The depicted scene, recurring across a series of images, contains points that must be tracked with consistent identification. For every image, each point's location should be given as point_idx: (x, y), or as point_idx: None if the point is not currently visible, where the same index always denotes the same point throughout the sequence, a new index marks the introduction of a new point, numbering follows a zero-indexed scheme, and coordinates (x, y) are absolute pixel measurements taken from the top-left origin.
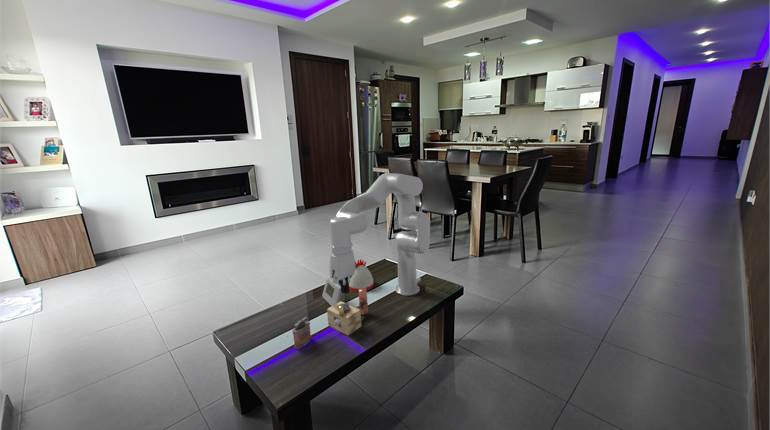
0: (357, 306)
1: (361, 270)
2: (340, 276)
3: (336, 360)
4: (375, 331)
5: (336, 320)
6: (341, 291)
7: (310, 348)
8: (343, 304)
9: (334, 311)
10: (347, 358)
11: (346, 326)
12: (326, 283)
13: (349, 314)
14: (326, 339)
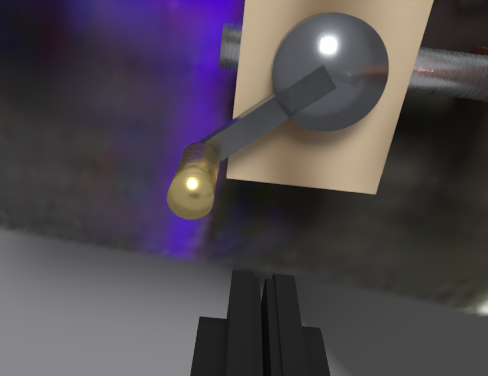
0: (476, 71)
1: None
2: None
3: (55, 200)
4: (333, 227)
5: (228, 55)
6: (231, 280)
7: (11, 12)
8: (363, 51)
9: (255, 17)
10: (98, 231)
11: None
12: None
13: (278, 165)
14: (132, 39)
